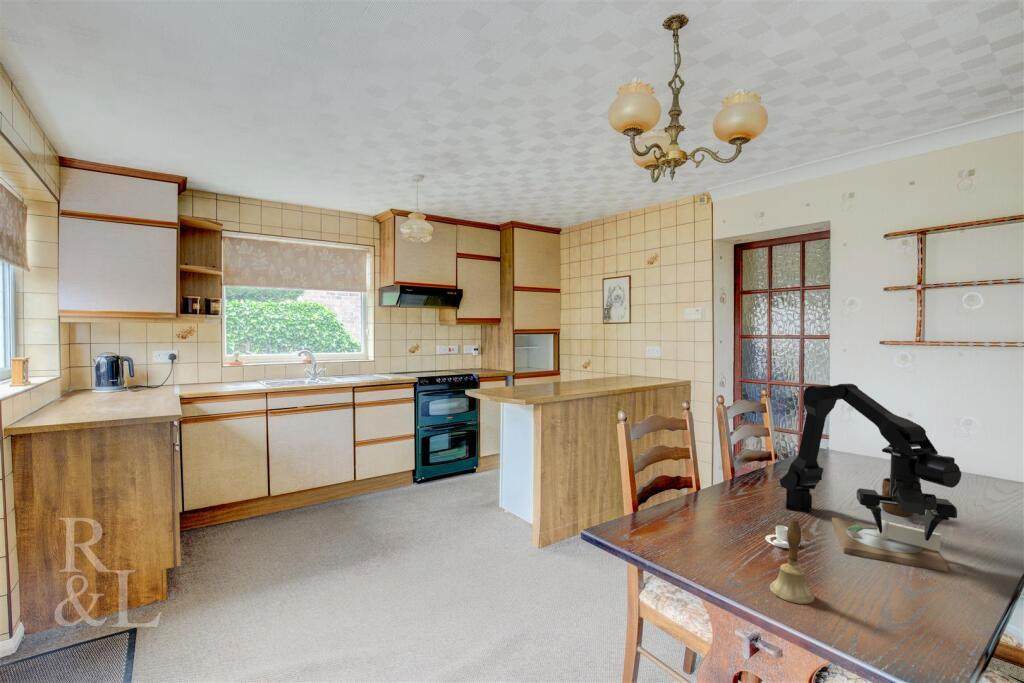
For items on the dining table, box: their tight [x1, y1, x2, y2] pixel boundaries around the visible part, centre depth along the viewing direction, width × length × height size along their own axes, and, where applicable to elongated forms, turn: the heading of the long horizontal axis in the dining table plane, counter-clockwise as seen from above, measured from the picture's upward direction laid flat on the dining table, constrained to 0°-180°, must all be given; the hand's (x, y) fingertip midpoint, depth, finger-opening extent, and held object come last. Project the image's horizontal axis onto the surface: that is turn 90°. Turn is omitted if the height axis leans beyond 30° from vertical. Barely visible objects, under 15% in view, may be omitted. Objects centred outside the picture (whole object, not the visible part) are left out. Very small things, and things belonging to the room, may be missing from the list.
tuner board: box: [831, 516, 949, 573], centre depth 125 cm, size 20×21×2 cm
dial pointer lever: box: [850, 517, 942, 552], centre depth 124 cm, size 18×3×4 cm, turn 45°
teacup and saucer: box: [765, 524, 801, 549], centre depth 127 cm, size 9×8×4 cm
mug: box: [881, 477, 914, 517], centre depth 146 cm, size 12×8×9 cm, turn 123°
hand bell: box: [769, 518, 815, 605], centre depth 102 cm, size 8×8×16 cm
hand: (903, 536), depth 120 cm, fingers open, 9 cm apart
